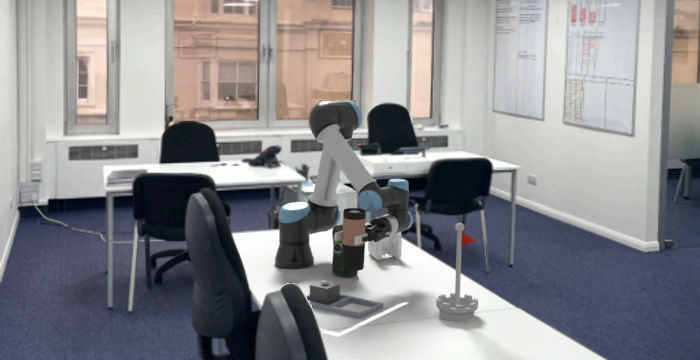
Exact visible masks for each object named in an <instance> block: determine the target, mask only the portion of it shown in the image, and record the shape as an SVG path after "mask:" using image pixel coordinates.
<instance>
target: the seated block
mask: <svg viewBox="0 0 700 360" xmlns="http://www.w3.org/2000/svg"><path fill="white" fill-rule="evenodd" d="M309 294H310V301H313V302H317V303H321V304H325V305H330V304H332V303H335V302H337V301H339V300H340V294H341V283H339V282H338V283H337V282H333V281H329V280H324V279H322V280H320V281H318V282H314V283H312V284H310V285H309Z"/></svg>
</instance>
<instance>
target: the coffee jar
mask: <svg viewBox="0 0 700 360" xmlns="http://www.w3.org/2000/svg"><path fill="white" fill-rule="evenodd" d="M341 228H343V223H342V224H337V225H336V226H334V228H332V233H331V236H332V243H333V244H332V246H333V247H332V263H331V273H332V275H335V276H339V277H341V278H353V277H355V276H357V275H358V273H359V272H358V271H348V270H345V269H343V252H342V240H343V239H342V240H339V241H335V233H337V232H340V231H341Z"/></svg>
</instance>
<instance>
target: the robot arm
mask: <svg viewBox="0 0 700 360" xmlns="http://www.w3.org/2000/svg"><path fill="white" fill-rule="evenodd" d="M362 122H363V115H362V110H361V109H360V107H359V105H358V104H357V103H355V102H354V101H352V100H345V99H341V100H331V101H330V100H329V101H325V100H324V101H320V102H318V103H316V104H314V106H313V107H312V108H311V110H310V112H309V115H308V124H309V125H308V126H309V130H310V131H311V134H312V135H313V137H314V139H315V140H316V141H317V142H318V143H321V144H322V145H323V146H322V149H321V150H322V151H321V156H320V159H319V165H318V170H317V174H316V179H315V183H314V189H313V193H311V194H309V196H308V199H307V202H304V201H295V202H288V203H286V204H283V205H282V206H281V207H280V209H279V213H278V215H279V216H278V227H279V229H278V230H279V231H278V233H279V238H278V239H279V244H278V248H277V250H276V255H275V257H274V265H275V266H277V267H279V268H282V269H287V270H288V269H290V270H293V269H294V270H296V269H297V270H298V269H299V270H300V269H305V268H306V269H307V268H311V267H312V266H314V264H315V257H314V255H313V252H312V248H311V244H310V242H311V241H310V239H311V238H310V235H313V234H316V233H322V232H328V231H330V230H333V228H334V226H336V225H339V222H340V219H341V211H340V207H339V205H338V200H337V199H336V193H337V189H338V184H339V179H340V175H341V172H342V173H343V174H344V175H345V177H346V179H348V181H349V183H350V184H351V186H352V187H353V189H354V190H355V191H356V193H357V194H358V198H357V199H358V200H357V201H358V205H359V207H360V209H364V210H365V211H366V213H370V212H373V213H374V212H378V211H380V210H381V211H382V210H385V209H387V214H384V215H381V216H377V217H375V218H373V219H371V220H370V221H369V223H366V224H365V234H363V235H359V236H356V237H355V245H359V244H362V243H365V244H366V243H368V241H369V242H371V241H372V240H374V242H378V241H380V240H382V239H384V238H386V237H390V235H393V234H396V233H399V232H401V233H403V232H405V231H406V230H409V229H410V228H411V227H412V225H413V223H414V218H413V215H412V213H411V212H410V211H409V197H410V196H409V194H410V190H409V181H408V180H406V179H402V178H391V179H389V180H388V182H387V186H384V187H380V185H379V184H378V183H377V181H376V180H375V179H374V177H373V176H372V174H371V173H370V172H369V170H368V169H367V168H366V166H365V164H363V162H362V161H361V159H360V158H359V157H358V155H357V154H356V152H355V151H354V149H353V148H352V146H351V145H350V144H349V143H348V142H349V141H351V140H352V138H353V135H354V131H357V129H359V128H360V127H361V125H362ZM342 239H343V228H341V231H340V232H337V233H335V241H339V240H342Z"/></svg>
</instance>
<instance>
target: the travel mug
mask: <svg viewBox="0 0 700 360" xmlns="http://www.w3.org/2000/svg"><path fill="white" fill-rule="evenodd" d="M366 214H367V212H366V211H365V210H364V209H361V208H357V207H349V208H344V209H343V210H342V215H343V217H342V218H343V219H342V224H343V240H342V252H343V269H345V270H348V271H363V270H364V267H365V254H366V253H365V251H366V242H365V243H362V244H359V245H355V237H356V236H359V235H363V234H365V225H366Z"/></svg>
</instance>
